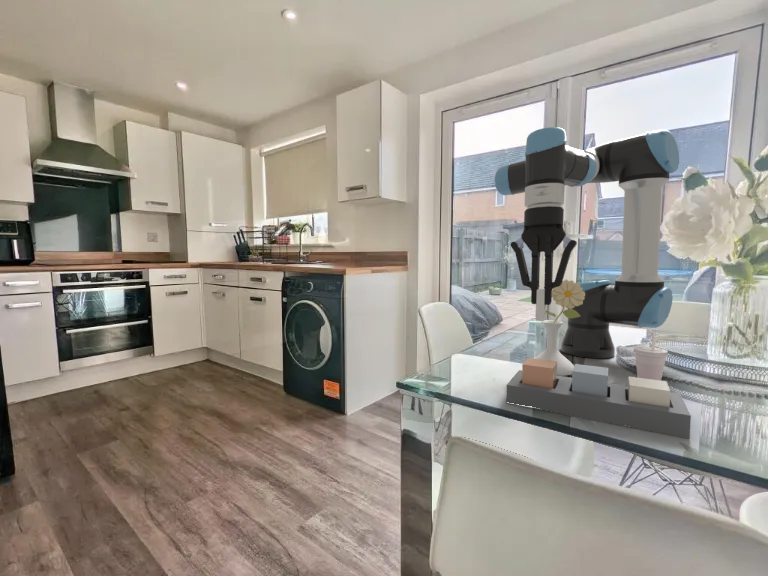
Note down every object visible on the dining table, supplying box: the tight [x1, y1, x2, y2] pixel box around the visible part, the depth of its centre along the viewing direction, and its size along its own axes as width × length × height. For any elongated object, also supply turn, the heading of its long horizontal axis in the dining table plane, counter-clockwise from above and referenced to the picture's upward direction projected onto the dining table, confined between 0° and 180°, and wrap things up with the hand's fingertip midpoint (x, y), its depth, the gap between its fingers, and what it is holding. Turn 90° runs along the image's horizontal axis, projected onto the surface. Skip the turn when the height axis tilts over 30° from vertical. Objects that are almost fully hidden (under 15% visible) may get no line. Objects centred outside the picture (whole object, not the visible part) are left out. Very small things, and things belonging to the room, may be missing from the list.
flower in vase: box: [532, 279, 585, 377], centre depth 96 cm, size 13×11×25 cm
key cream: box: [627, 376, 671, 407], centre depth 69 cm, size 6×6×5 cm
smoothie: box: [632, 329, 669, 381], centre depth 84 cm, size 6×6×14 cm
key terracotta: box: [522, 357, 557, 389], centre depth 79 cm, size 6×6×5 cm
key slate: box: [571, 363, 609, 397], centre depth 74 cm, size 6×6×5 cm
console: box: [505, 369, 692, 440], centre depth 74 cm, size 12×30×4 cm, turn 58°
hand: (540, 319), depth 78 cm, fingers closed
